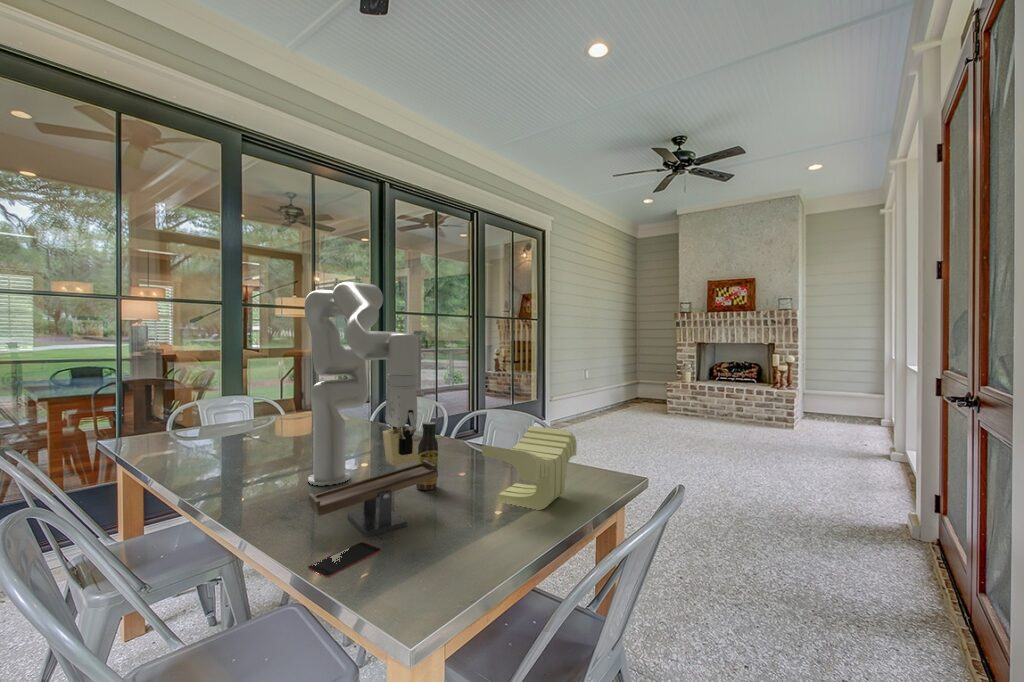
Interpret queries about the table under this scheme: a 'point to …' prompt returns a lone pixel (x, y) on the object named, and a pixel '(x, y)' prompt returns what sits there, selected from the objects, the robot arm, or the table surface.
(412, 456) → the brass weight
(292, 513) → the table surface
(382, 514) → the beam stand
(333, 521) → the table surface
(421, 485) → the sauce bottle
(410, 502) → the table surface
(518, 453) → the slatted curved stool
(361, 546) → the smartphone
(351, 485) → the brown long channel
